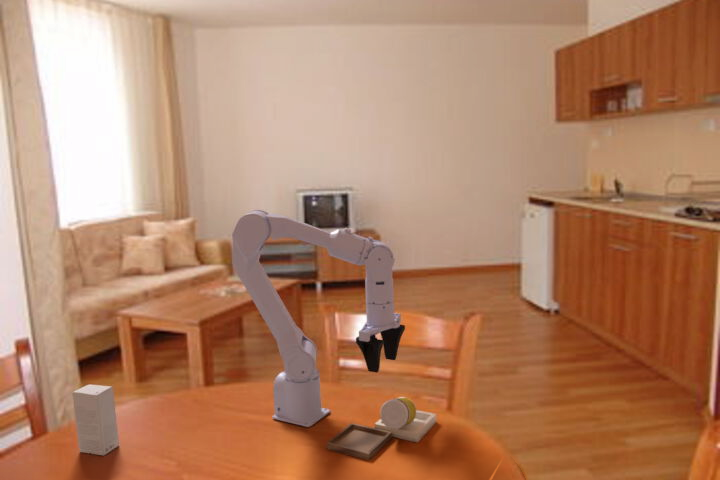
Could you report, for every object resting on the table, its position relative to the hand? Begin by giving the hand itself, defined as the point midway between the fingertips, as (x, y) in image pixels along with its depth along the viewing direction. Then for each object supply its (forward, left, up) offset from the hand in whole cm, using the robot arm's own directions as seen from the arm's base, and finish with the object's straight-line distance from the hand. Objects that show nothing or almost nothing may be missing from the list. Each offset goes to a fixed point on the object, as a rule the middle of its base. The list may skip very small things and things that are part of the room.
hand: (382, 365), depth 117 cm
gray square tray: (+2, -13, -10) cm, 17 cm away
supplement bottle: (+8, -11, -5) cm, 14 cm away
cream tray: (+7, -4, -10) cm, 13 cm away
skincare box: (-42, -37, -11) cm, 57 cm away
